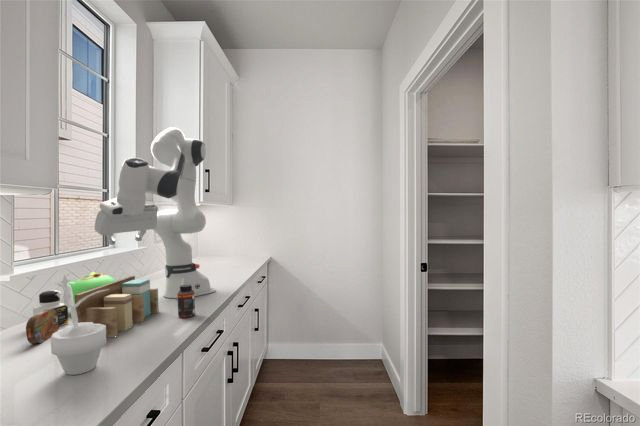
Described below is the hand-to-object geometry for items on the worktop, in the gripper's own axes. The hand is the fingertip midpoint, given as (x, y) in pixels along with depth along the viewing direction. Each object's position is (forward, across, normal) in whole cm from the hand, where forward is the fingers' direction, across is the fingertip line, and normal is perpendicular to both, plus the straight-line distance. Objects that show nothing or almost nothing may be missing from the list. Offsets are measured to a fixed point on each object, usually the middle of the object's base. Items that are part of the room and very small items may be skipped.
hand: (125, 242), depth 129 cm
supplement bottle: (+22, -14, +23) cm, 34 cm away
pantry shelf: (+25, +4, +12) cm, 28 cm away
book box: (+24, +7, +15) cm, 29 cm away
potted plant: (+14, +28, +37) cm, 49 cm away
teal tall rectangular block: (+27, -4, +8) cm, 29 cm away
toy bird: (+37, 0, -16) cm, 40 cm away
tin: (+28, +24, +4) cm, 37 cm away
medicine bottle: (+33, +18, -7) cm, 38 cm away
